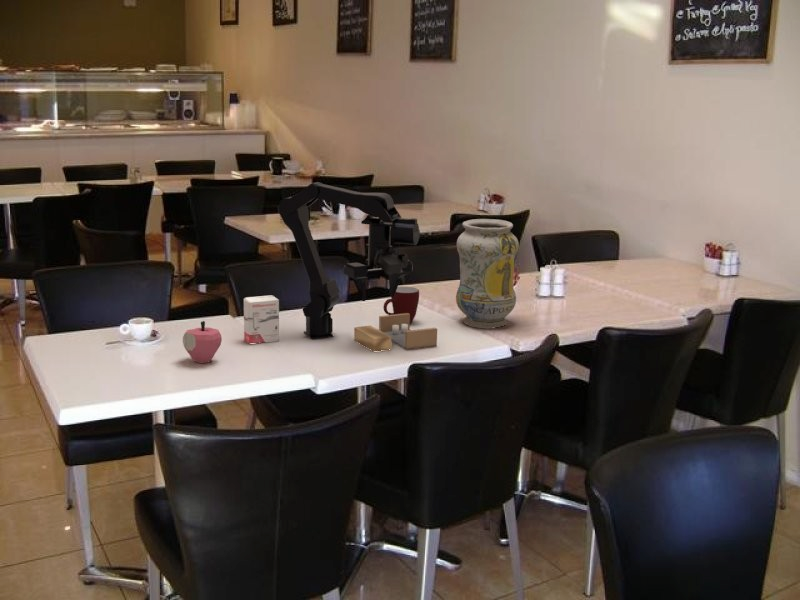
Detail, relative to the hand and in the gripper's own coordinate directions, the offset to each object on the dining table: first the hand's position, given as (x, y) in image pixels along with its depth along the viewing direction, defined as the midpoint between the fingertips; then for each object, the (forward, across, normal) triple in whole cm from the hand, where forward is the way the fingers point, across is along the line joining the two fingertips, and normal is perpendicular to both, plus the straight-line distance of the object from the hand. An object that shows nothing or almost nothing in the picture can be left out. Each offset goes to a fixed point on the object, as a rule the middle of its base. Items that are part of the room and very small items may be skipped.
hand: (377, 298), depth 241 cm
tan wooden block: (+12, -2, -2) cm, 13 cm away
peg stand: (+12, +9, -2) cm, 15 cm away
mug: (+12, +17, +13) cm, 25 cm away
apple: (+13, -46, +8) cm, 49 cm away
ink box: (+13, -26, +17) cm, 34 cm away
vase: (+12, +38, 0) cm, 40 cm away
